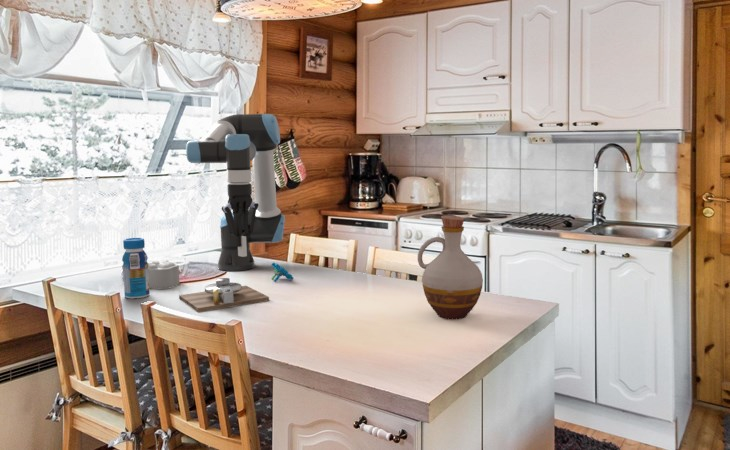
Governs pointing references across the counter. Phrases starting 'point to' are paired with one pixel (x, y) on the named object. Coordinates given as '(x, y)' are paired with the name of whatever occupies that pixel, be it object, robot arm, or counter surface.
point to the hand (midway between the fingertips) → (242, 255)
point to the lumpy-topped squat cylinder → (163, 274)
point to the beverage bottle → (135, 269)
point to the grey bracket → (224, 289)
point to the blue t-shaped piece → (280, 272)
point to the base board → (206, 300)
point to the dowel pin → (216, 297)
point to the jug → (451, 274)
